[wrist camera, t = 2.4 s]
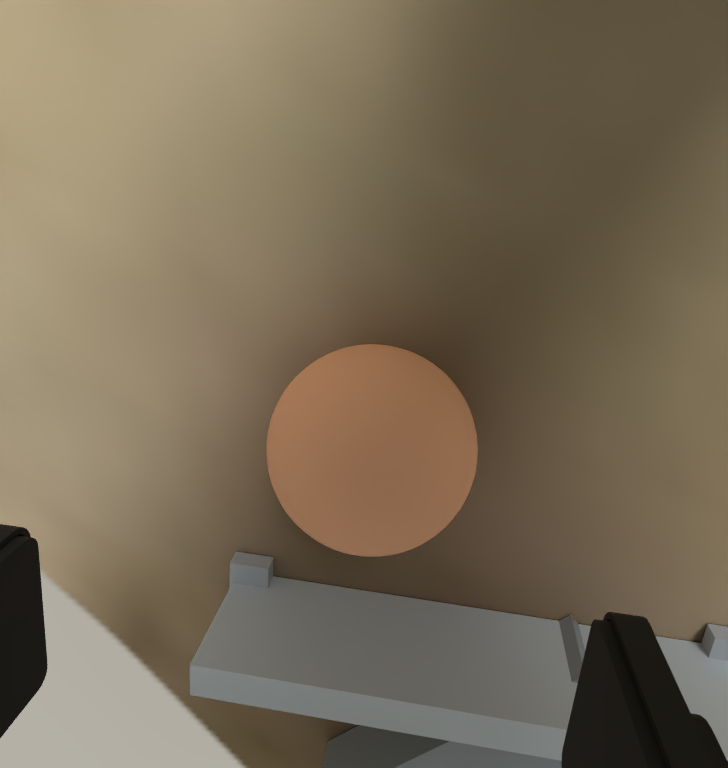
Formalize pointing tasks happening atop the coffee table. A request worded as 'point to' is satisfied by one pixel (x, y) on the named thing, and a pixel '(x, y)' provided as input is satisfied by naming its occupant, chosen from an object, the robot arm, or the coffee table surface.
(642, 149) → the coffee table surface
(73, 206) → the coffee table surface
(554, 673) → the fence
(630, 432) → the coffee table surface
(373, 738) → the dish
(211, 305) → the coffee table surface
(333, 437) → the ball
